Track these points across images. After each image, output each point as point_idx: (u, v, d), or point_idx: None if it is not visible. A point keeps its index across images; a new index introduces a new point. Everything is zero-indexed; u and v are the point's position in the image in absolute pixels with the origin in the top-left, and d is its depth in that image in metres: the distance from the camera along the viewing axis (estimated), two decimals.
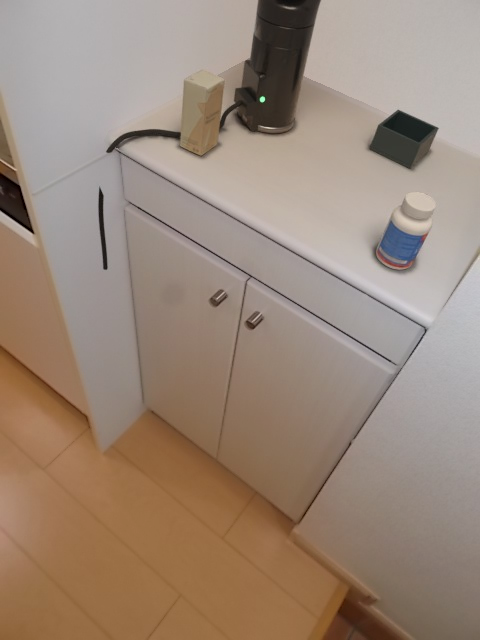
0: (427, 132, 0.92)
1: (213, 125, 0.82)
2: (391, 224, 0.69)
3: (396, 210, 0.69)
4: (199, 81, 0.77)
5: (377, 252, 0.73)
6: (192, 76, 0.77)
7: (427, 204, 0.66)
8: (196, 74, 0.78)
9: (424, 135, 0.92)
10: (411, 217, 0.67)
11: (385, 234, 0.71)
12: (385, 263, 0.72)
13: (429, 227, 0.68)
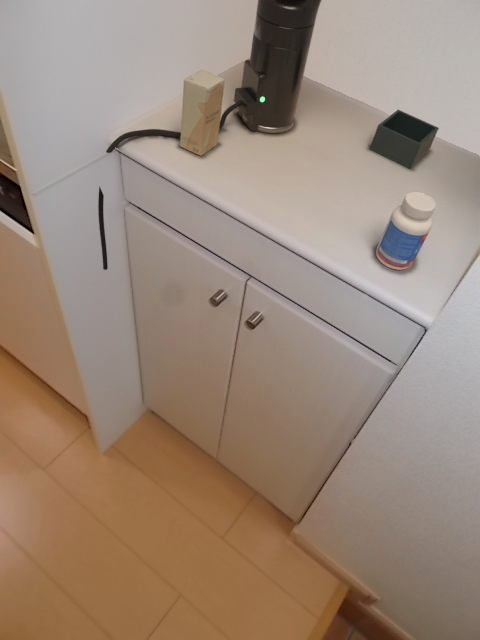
0: (427, 132, 0.92)
1: (213, 125, 0.82)
2: (391, 224, 0.69)
3: (396, 210, 0.69)
4: (199, 81, 0.77)
5: (377, 252, 0.73)
6: (192, 76, 0.77)
7: (427, 204, 0.66)
8: (196, 74, 0.78)
9: (424, 135, 0.92)
10: (411, 217, 0.67)
11: (385, 234, 0.71)
12: (385, 263, 0.72)
13: (429, 227, 0.68)
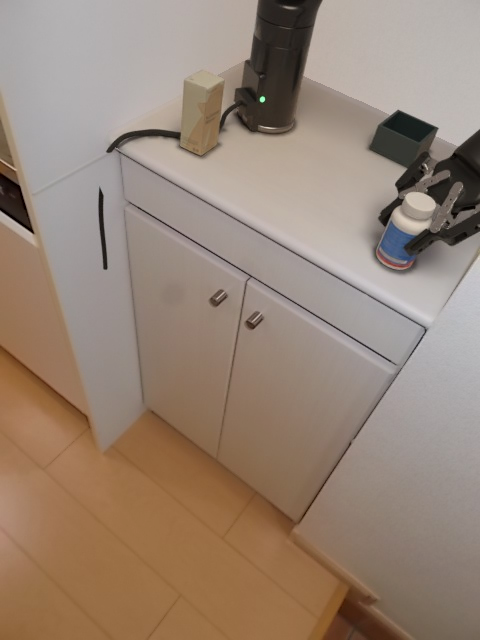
0: (427, 132, 0.92)
1: (213, 125, 0.82)
2: (391, 224, 0.69)
3: (396, 210, 0.68)
4: (199, 81, 0.77)
5: (377, 252, 0.73)
6: (192, 76, 0.77)
7: (427, 204, 0.66)
8: (196, 74, 0.78)
9: (424, 135, 0.92)
10: (411, 217, 0.67)
11: (385, 234, 0.71)
12: (385, 263, 0.72)
13: (429, 227, 0.68)
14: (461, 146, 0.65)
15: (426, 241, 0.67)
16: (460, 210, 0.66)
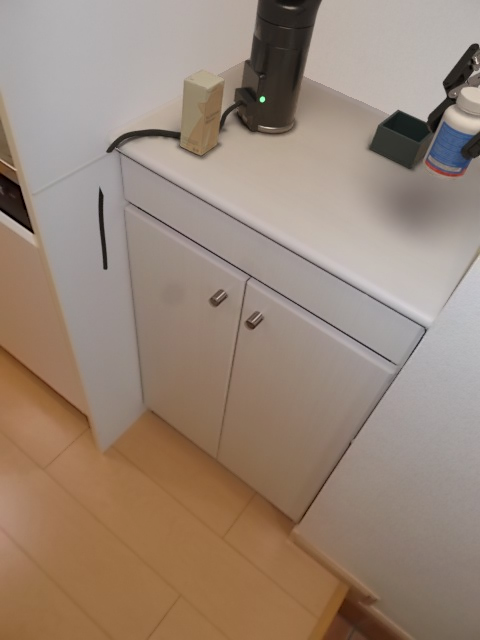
0: (427, 132, 0.92)
1: (213, 125, 0.82)
2: (445, 126, 0.62)
3: (449, 109, 0.62)
4: (199, 81, 0.77)
5: (425, 162, 0.66)
6: (192, 76, 0.77)
7: None
8: (196, 74, 0.78)
9: (424, 135, 0.92)
10: (468, 114, 0.60)
11: (436, 139, 0.64)
12: (436, 173, 0.65)
13: None
14: None
15: None
16: None
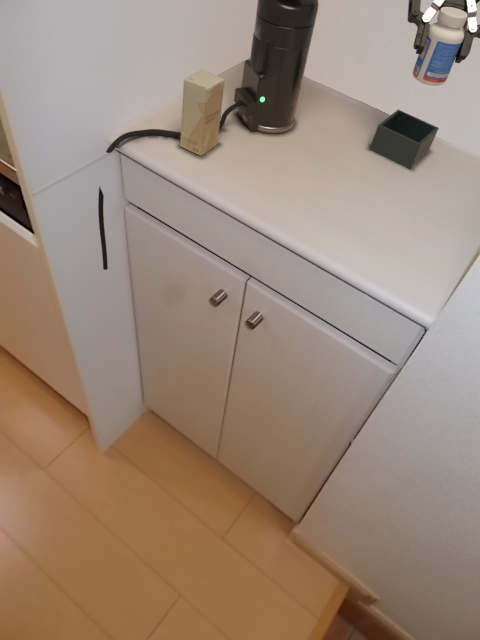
0: (427, 132, 0.92)
1: (213, 125, 0.82)
2: (441, 44, 0.77)
3: (438, 31, 0.77)
4: (199, 80, 0.77)
5: (424, 79, 0.81)
6: (192, 76, 0.77)
7: (459, 12, 0.76)
8: (196, 74, 0.78)
9: (424, 135, 0.92)
10: (456, 28, 0.76)
11: (432, 57, 0.79)
12: (436, 83, 0.81)
13: None
14: None
15: (471, 42, 0.78)
16: None
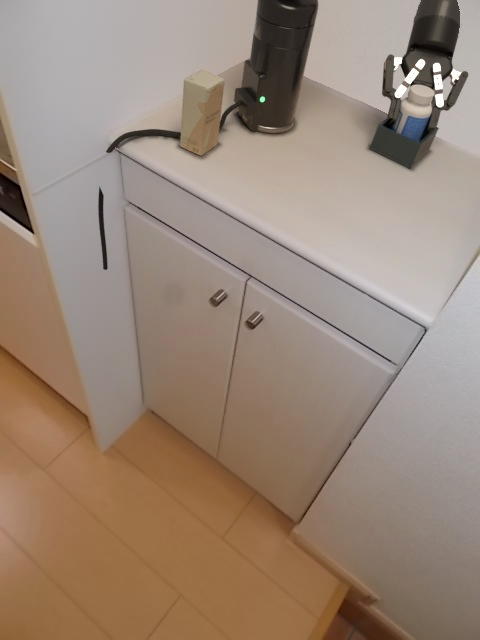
0: None
1: (213, 125, 0.82)
2: (411, 118, 0.86)
3: (408, 106, 0.86)
4: (199, 80, 0.77)
5: None
6: (192, 76, 0.77)
7: (427, 90, 0.85)
8: (196, 74, 0.78)
9: (424, 135, 0.92)
10: (424, 105, 0.85)
11: (404, 129, 0.88)
12: None
13: (430, 106, 0.87)
14: (422, 37, 0.84)
15: (439, 115, 0.87)
16: None
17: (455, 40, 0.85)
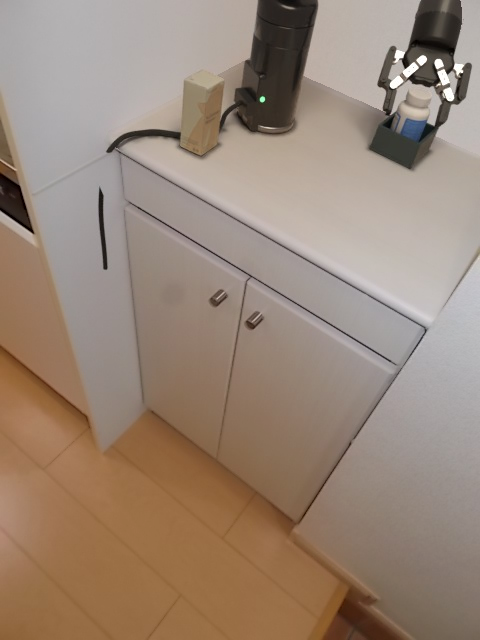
0: (427, 132, 0.92)
1: (213, 125, 0.82)
2: (409, 121, 0.86)
3: (406, 109, 0.86)
4: (199, 80, 0.77)
5: None
6: (192, 76, 0.77)
7: (425, 92, 0.86)
8: (196, 74, 0.78)
9: (424, 135, 0.92)
10: (422, 107, 0.85)
11: (402, 131, 0.88)
12: None
13: (428, 108, 0.88)
14: (424, 33, 0.83)
15: (449, 109, 0.86)
16: None
17: (457, 36, 0.84)
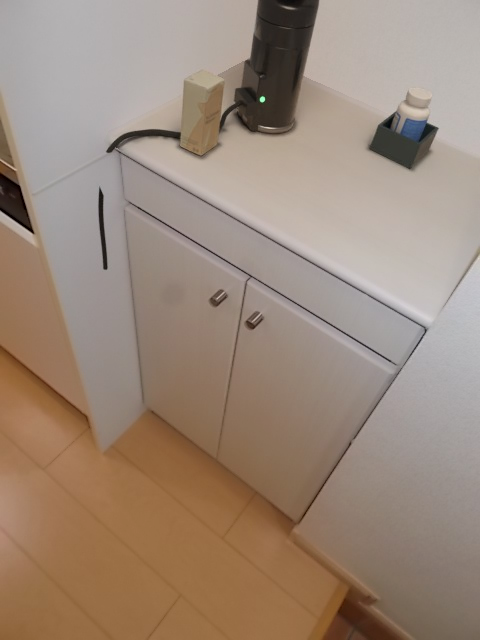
0: (427, 132, 0.92)
1: (213, 125, 0.82)
2: (409, 121, 0.86)
3: (406, 109, 0.86)
4: (199, 80, 0.77)
5: None
6: (192, 76, 0.77)
7: (425, 92, 0.86)
8: (196, 74, 0.78)
9: (424, 135, 0.92)
10: (422, 107, 0.85)
11: (402, 131, 0.88)
12: None
13: (428, 108, 0.88)
14: None
15: None
16: None
17: None
